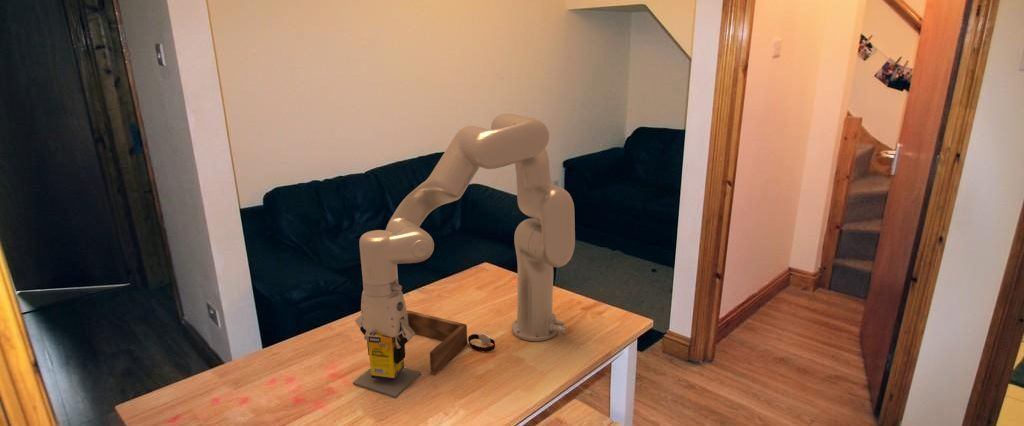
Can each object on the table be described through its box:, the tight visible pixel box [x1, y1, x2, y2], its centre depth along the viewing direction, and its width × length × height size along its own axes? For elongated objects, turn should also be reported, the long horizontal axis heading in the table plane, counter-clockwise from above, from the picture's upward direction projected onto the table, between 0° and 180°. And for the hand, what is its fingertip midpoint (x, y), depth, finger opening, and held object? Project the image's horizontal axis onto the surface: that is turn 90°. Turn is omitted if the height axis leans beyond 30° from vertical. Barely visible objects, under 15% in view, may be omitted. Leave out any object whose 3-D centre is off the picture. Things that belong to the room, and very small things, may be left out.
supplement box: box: [367, 332, 405, 380], centre depth 123 cm, size 6×6×11 cm
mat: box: [352, 367, 422, 399], centre depth 125 cm, size 12×10×1 cm
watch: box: [467, 332, 496, 353], centre depth 138 cm, size 8×5×4 cm, turn 61°
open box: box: [402, 310, 468, 377], centre depth 136 cm, size 18×15×6 cm
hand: (386, 356), depth 123 cm, fingers closed on supplement box, 6 cm apart
